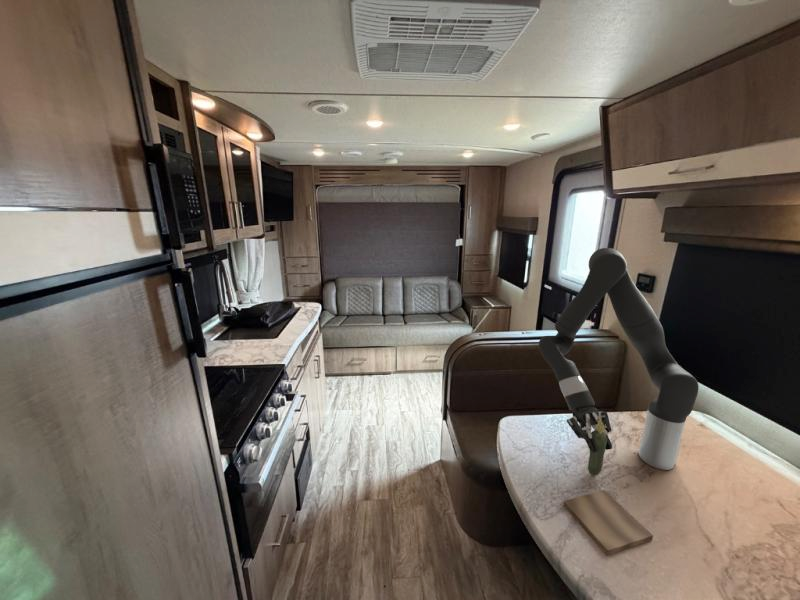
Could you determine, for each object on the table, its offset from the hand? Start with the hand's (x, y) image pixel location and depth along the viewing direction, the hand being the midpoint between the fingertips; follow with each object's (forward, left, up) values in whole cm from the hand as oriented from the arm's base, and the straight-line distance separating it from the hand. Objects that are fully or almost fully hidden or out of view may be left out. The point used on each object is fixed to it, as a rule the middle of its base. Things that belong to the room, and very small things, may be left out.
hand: (602, 450), depth 92 cm
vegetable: (0, -2, -11) cm, 11 cm away
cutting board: (+9, +11, -11) cm, 18 cm away
